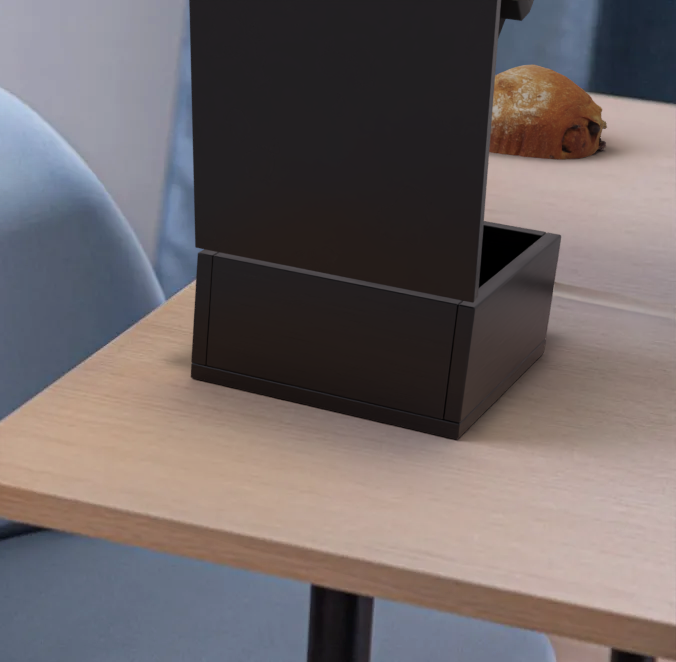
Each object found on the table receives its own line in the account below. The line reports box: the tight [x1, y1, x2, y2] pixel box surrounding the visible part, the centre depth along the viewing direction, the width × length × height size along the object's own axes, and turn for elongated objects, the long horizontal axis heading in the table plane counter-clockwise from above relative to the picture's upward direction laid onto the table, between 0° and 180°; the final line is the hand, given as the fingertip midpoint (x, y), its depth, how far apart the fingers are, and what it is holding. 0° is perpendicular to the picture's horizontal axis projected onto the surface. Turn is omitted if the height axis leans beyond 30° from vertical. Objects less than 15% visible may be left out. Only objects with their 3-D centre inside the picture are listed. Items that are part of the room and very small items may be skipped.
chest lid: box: [188, 0, 501, 303], centre depth 76 cm, size 14×14×1 cm
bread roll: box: [489, 64, 608, 160], centre depth 128 cm, size 10×10×8 cm
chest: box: [190, 220, 562, 440], centre depth 87 cm, size 14×14×6 cm
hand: (379, 57), depth 79 cm, fingers closed on crock, 7 cm apart
